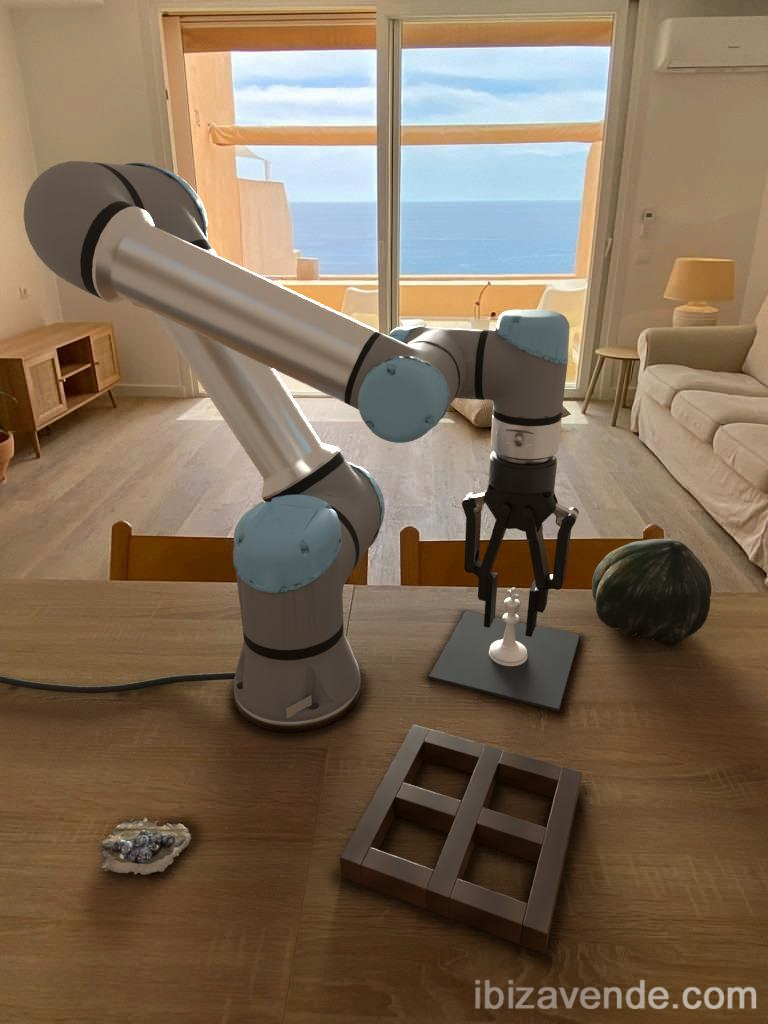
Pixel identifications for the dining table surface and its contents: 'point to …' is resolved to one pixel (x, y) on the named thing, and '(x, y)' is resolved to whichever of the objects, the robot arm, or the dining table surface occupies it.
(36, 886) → the dining table surface
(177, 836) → the blueberries
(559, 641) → the mat
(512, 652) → the chess piece
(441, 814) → the holder
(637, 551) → the squash
